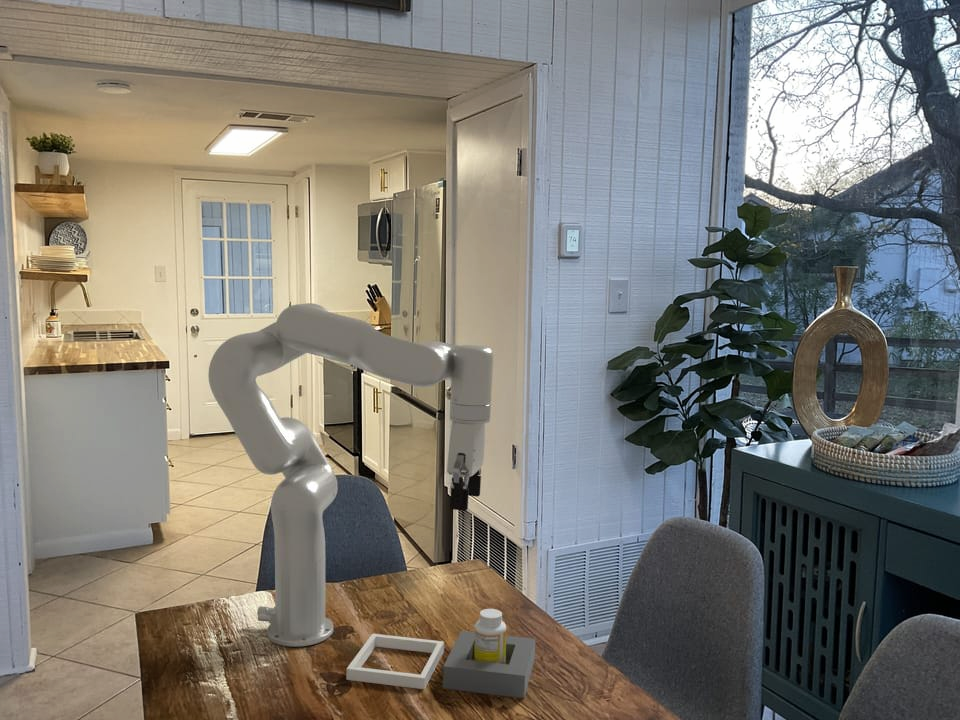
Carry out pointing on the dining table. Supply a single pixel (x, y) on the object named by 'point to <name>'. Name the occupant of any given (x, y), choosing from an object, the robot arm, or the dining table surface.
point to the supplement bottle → (490, 637)
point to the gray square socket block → (490, 668)
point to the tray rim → (392, 677)
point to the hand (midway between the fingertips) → (465, 502)
